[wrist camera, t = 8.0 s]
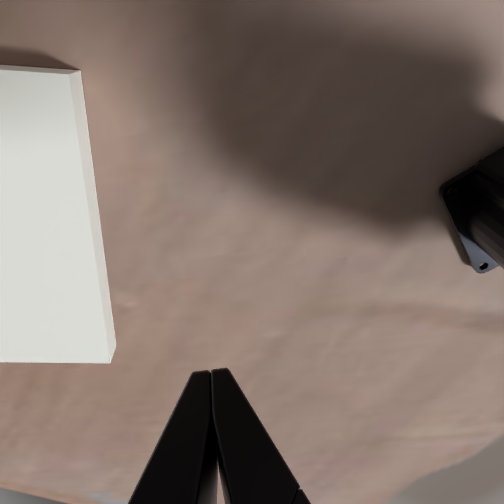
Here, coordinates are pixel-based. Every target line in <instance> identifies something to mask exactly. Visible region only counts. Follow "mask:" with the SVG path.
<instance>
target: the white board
mask: <svg viewBox="0 0 504 504" xmlns="http://www.w3.org/2000/svg"><path fill="white" fill-rule="evenodd" d="M115 348H116V339H115V332H114V324H113V316H112V308H111V301H110V293H109V285H108V278H107V270H106V262H105V255H104V247H103V239H102V231H101V224H100V216H99V208H98V201H97V193H96V185H95V178H94V170H93V162H92V155H91V147H90V139H89V131H88V124H87V116H86V108H85V101H84V93H83V85H82V78H81V70H68V69H54V68H39V67H25V66H11V65H0V362H44V363H111V360H112V357H113V354H114V351H115Z"/></svg>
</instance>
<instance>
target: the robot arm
mask: <svg viewBox="0 0 504 504" xmlns="http://www.w3.org/2000/svg"><path fill="white" fill-rule="evenodd" d="M452 188H453V191H452V193H450V194H448V195H447V192H448V191H449V190H450V189H452ZM439 196H440V198H441V200H442V202H443V205H444V207H445V209H446V211H447V213H448V216H449V218H450V220H451V222H452V224H453V227H454V229H455V231H456V233H457V235H458V238H459V240H460V242H461V244H462V246H463V248H464V251H465V253H466V255H467V257H468V259H469V262H470V264H471V266H472V268H473V269H474V270H475V271H476V272H477V273H485V272H488V271H490V270H492V269H494V268H496V267H497V266H499V265H500V266H501V267H502V268H503V269H504V147H503V148H501V149H499V150H498V151H496V152H494V153H492V154H491V155H489V156H487V157H485V158H484V159H482V160H480V161H479V162H478V163H477V164H476V165H475V166H473V167H471V168H470V169H468V170H466V171H464V172H463V173H461V174H459V175H457V176H456V177H454V178H452V179H451V180H449V181H447V182H445V183H444V184H443V185H442V186H441V187H440V189H439ZM482 263H484V264H483V265H482V266H480V265H481V264H482ZM218 466H219V472H220V479H221V484H222V490H223V495H224V500H225V504H311V503H310V501H309V500H308V498H307V497H306V495H305V493H304V492H303V490H302V489H300V485H299V484H298V482H297V480H296V479H295V477H294V476H293V474H292V472H291V471H290V469H289V467H288V466H287V464H286V462H285V461H284V459H283V457H282V456H281V454H280V453H279V451H278V449H277V448H276V446H275V444H274V443H273V441H272V439H271V438H270V436H269V434H268V433H267V431H266V430H265V428H264V426H263V425H262V423H261V421H260V420H259V418H258V416H257V415H256V413H255V411H254V410H253V408H252V406H251V405H250V403H249V402H248V400H247V398H246V397H245V395H244V393H243V392H242V390H241V388H240V387H239V385H238V383H237V382H236V380H235V379H234V377H233V375H232V374H231V372H230V370H229V369H228V368H220V369H213V370H211V373H210V371H208V370H203V371H195V372H193V373H192V374H191V375H190V377H189V379H188V381H187V383H186V386H185V388H184V390H183V392H182V394H181V396H180V398H179V400H178V402H177V404H176V406H175V408H174V410H173V412H172V414H171V416H170V418H169V420H168V422H167V424H166V426H165V429H164V431H163V433H162V435H161V437H160V439H159V441H158V443H157V445H156V447H155V449H154V451H153V453H152V455H151V457H150V459H149V461H148V463H147V465H146V467H145V469H144V472H143V474H142V476H141V478H140V480H139V482H138V484H137V486H136V488H135V490H134V492H133V494H132V496H131V498H130V500H129V502H128V504H217V484H218Z"/></svg>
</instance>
